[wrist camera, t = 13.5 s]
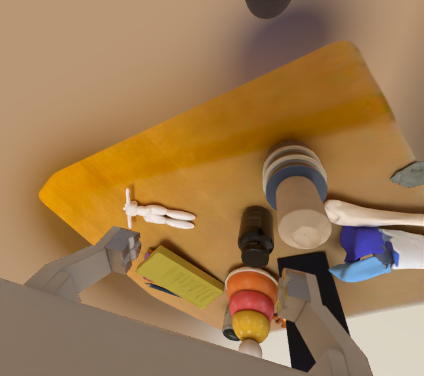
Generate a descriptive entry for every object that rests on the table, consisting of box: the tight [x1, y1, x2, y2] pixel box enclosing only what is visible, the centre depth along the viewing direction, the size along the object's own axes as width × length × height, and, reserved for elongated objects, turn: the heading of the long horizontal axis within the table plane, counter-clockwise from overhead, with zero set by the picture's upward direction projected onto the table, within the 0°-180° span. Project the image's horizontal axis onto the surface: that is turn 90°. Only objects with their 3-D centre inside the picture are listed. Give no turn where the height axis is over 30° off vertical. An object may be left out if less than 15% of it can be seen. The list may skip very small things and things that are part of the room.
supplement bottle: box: [238, 207, 274, 268], centre depth 43 cm, size 7×7×12 cm
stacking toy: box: [225, 267, 278, 359], centre depth 50 cm, size 14×14×20 cm
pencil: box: [145, 283, 182, 298], centre depth 65 cm, size 1×1×15 cm
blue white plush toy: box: [324, 200, 424, 282], centre depth 39 cm, size 13×25×12 cm
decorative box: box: [277, 253, 350, 373], centre depth 42 cm, size 11×30×9 cm
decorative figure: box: [123, 188, 195, 229], centre depth 53 cm, size 4×12×18 cm
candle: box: [276, 176, 332, 249], centre depth 27 cm, size 6×6×10 cm
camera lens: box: [222, 305, 240, 341], centre depth 62 cm, size 6×6×8 cm
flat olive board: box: [135, 245, 224, 309], centre depth 60 cm, size 12×2×24 cm
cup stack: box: [262, 140, 327, 211], centre depth 36 cm, size 10×10×11 cm
